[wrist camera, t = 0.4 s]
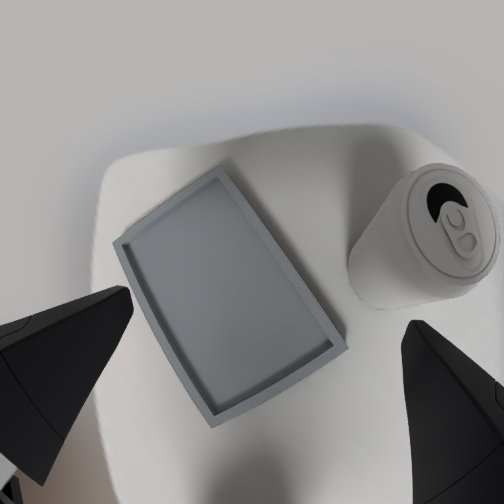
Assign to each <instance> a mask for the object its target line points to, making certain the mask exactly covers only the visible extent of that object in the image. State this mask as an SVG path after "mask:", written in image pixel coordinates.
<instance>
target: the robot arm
mask: <svg viewBox="0 0 504 504" xmlns="http://www.w3.org/2000/svg"><path fill="white" fill-rule="evenodd" d="M133 311H134V307H133V303H132V299H131V294H130V290H129V289H128V288H127V287H125V286H119V285H117V286H114V287H111V288H108V289H105V290H102V291H99V292H96V293H93V294H91V295H88V296H85V297H82V298H79V299H76V300H73V301H70V302H68V303H65V304H62V305H59V306H56V307H53V308H50V309H48V310H45V311H42V312H39V313H36V314H34V315H33V316H32V315H30V316H28V317H25V318H22V319H19V320H16V321H13V322H10V323H7V324H4V325H1V326H0V504H23V500H22V495H21V490H20V485H19V478H18V477H16V475H14V472H15V471H16V470H17V468H18V469H20V470H21V471H22V472H23V473H25V474H26V475H27V476H29V477H30V478H31V479H32V480H34V481H35V482H37V483H38V484H39V485H40V486H43V485H44V483H45V481H46V479H47V477H48V475H49V473H50V470H51V468H52V466H53V464H54V462H55V460H56V458H57V456H58V453H59V452H60V450H61V447H62V445H63V443H64V441H65V439H66V437H67V435H68V433H69V431H70V429H71V427H72V426H73V424H74V422H75V420H76V418H77V416H78V414H79V412H80V410H81V408H82V407H83V405H84V403H85V401H86V399H87V398H88V396H89V394H90V392H91V390H92V389H93V387H94V385H95V384H96V382H97V380H98V378H99V377H100V375H101V373H102V371H103V370H104V368H105V366H106V365H107V363H108V361H109V360H110V358H111V356H112V355H113V353H114V351H115V349H116V348H117V346H118V344H119V342H120V339H121V337H122V335H123V333H124V331H125V329H126V327H127V325H128V323H129V321H130V319H131V317H132V315H133ZM401 353H402V367H403V385H404V395H405V402H406V409H407V417H408V425H409V435H410V446H411V459H412V481H413V504H504V387H503V386H502V385H501V384H500V383H499V382H497V381H496V382H495V379H494V378H493V377H492V376H490V375H489V374H488V373H487V372H486V371H485V370H484V369H482V368H481V367H480V366H479V365H478V364H476V363H475V362H474V361H473V360H472V359H470V358H469V357H468V356H467V355H466V354H464V353H463V352H462V351H461V350H460V349H458V348H457V347H456V346H455V345H453V344H452V343H451V342H450V341H448V340H447V339H446V338H445V337H443V336H442V335H441V334H440V333H438V332H437V331H436V330H435V329H433V328H432V327H431V326H430V325H428V324H427V323H426V322H424V321H423V320H411V321H410V322H409V324H408V327H407V329H406V332H405V335H404V337H403V340H402V343H401Z"/></svg>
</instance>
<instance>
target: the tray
mask: <svg viewBox="0 0 504 504" xmlns="http://www.w3.org/2000/svg"><path fill="white" fill-rule="evenodd" d="M112 244H113V246H114V249H115V251H116V254H117V256H118V258H119V261H120V263H121V266H122V268H123V270H124V273H125V275H126V277H127V279H128V282H129V284H130V286H131V288H132V291H133V293H134V295H135V297H136V299H137V301H138V303H139V305H140V307H141V310H142V312H143V314H144V316H145V318H146V320H147V322H148V324H149V326H150V327H151V329H152V331H153V333H154V335H155V337H156V339H157V341H158V343H159V344H160V346H161V348H162V350H163V352H164V354H165V355H166V357H167V359H168V361H169V362H170V364H171V366H172V368H173V369H174V371H175V373H176V374H177V376H178V378H179V379H180V381H181V383H182V384H183V386H184V388H185V389H186V391H187V392H188V394H189V396H190V397H191V399H192V400H193V402H194V403H195V405H196V406H197V408H198V410H199V411H200V413H201V414H202V416H203V417H204V418H205V420H206V421H207V423H208V424H209V426H210V427H211V428H214V427H216V426H218V425H220V424H222V423H224V422H226V421H228V420H230V419H232V418H234V417H236V416H238V415H240V414H242V413H244V412H246V411H248V410H250V409H252V408H254V407H256V406H257V405H259V404H261V403H263V402H265V401H267V400H268V399H270V398H272V397H274V396H275V395H277V394H279V393H281V392H282V391H284V390H286V389H287V388H289V387H291V386H292V385H294V384H296V383H297V382H299V381H301V380H302V379H304V378H305V377H307V376H309V375H310V374H312V373H313V372H315V371H316V370H318V369H319V368H321V367H322V366H324V365H325V364H327V363H328V362H330V361H331V360H333V359H334V358H336V357H337V356H339V355H340V354H341V353H343V352H344V351H346V350H347V349H348V346H347V345H346V343H345V342H344V340H343V339H342V337H341V336H340V334H339V333H338V331H337V330H336V328H335V327H334V325H333V324H332V322H331V321H330V319H329V318H328V316H327V315H326V313H325V312H324V310H323V309H322V307H321V306H320V304H319V303H318V301H317V300H316V299H315V297H314V296H313V294H312V293H311V291H310V290H309V288H308V287H307V285H306V284H305V282H304V281H303V280H302V278H301V277H300V275H299V274H298V272H297V271H296V269H295V268H294V267H293V265H292V264H291V262H290V261H289V259H288V258H287V257H286V255H285V254H284V252H283V251H282V249H281V248H280V247H279V245H278V244H277V242H276V241H275V240H274V238H273V237H272V235H271V234H270V233H269V231H268V230H267V228H266V227H265V226H264V224H263V223H262V221H261V220H260V219H259V217H258V216H257V214H256V213H255V212H254V210H253V209H252V207H251V206H250V205H249V203H248V202H247V201H246V199H245V198H244V196H243V195H242V194H241V192H240V191H239V190H238V188H237V187H236V185H235V184H234V183H233V181H232V180H231V179H230V177H229V176H228V175H227V173H226V172H225V170H224V169H223V168H222V166H221V165H220V166H218V167H217V168H215V169H214V170H212V171H211V172H209V173H208V174H206V175H205V176H203V177H202V178H200V179H199V180H197V181H196V182H194V183H193V184H191V185H190V186H188V187H187V188H185V189H184V190H182V191H181V192H179V193H178V194H177V195H175V196H174V197H172V198H171V199H169V200H168V201H167V202H165V203H164V204H162V205H161V206H160V207H158V208H157V209H156V210H154V211H153V212H151V213H150V214H149V215H147V216H146V217H145V218H143V219H142V220H141V221H139V222H138V223H137V224H135V225H134V226H133V227H132V228H130V229H129V230H128V231H126V232H125V233H124V234H123V235H121V236H120V237H119V238H117V239H116V240H115V241H114V242H112Z"/></svg>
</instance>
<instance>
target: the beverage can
mask: <svg viewBox="0 0 504 504" xmlns="http://www.w3.org/2000/svg"><path fill="white" fill-rule="evenodd" d="M499 247H500V228H499V222H498V218H497V214H496V211H495V209H494V206H493V204H492V202H491V200H490V198H489V196H488V195H487V193H486V192H485V190H484V189H483V188H482V186H481V185H480V184H479V183H478V182H477V181H476V180H475V179H474V178H473V177H472V176H470V175H469V174H468V173H466V172H465V171H463V170H461V169H459V168H457V167H455V166H451V165H448V164H443V163H434V164H429V165H426V166H423V167H421V168H419V169H418V170H416V171H413V172H411V173H409V174H407V175H405V176H404V177H403V178H401V179H400V180H399V181H398V182H397V183H396V185H395V186H394V187H393V189H392V190H391V192H390V193H389V195H388V196H387V198H386V200H385V201H384V203H383V204H382V206H381V207H380V209H379V210H378V212H377V213H376V215H375V216H374V218H373V219H372V220H371V222H370V223H369V225H368V226H367V228H366V229H365V231H364V232H363V233H362V235H361V236H360V238H359V239H358V241H357V242H356V243H355V245H354V246H353V248H352V250H351V253H350V256H349V260H348V276H349V280H350V284H351V286H352V288H353V290H354V291H355V293H356V294H357V296H358V297H359V298H360V299H361V300H362V301H363V302H365V303H366V304H368V305H369V306H371V307H374V308H377V309H382V310H391V309H397V308H403V307H409V306H414V305H420V304H425V303H431V302H436V301H441V300H446V299H450V298H455V297H459V296H462V295H464V294H466V293H468V292H470V291H471V290H472V289H474V288H475V287H476V286H477V285H478V284H479V282H480V281H481V280H482V279H483V278H484V277H486V276H487V275H488V273H489V272H490V271H491V269H492V268H493V266H494V264H495V262H496V259H497V256H498V253H499Z"/></svg>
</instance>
